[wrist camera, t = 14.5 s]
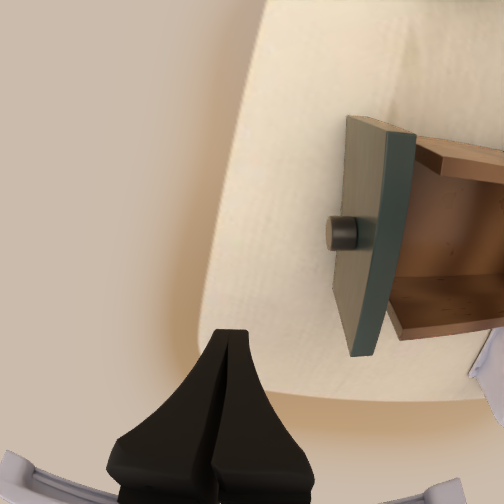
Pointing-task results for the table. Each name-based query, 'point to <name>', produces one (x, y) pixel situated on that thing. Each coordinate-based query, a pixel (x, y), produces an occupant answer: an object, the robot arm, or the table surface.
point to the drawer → (417, 236)
